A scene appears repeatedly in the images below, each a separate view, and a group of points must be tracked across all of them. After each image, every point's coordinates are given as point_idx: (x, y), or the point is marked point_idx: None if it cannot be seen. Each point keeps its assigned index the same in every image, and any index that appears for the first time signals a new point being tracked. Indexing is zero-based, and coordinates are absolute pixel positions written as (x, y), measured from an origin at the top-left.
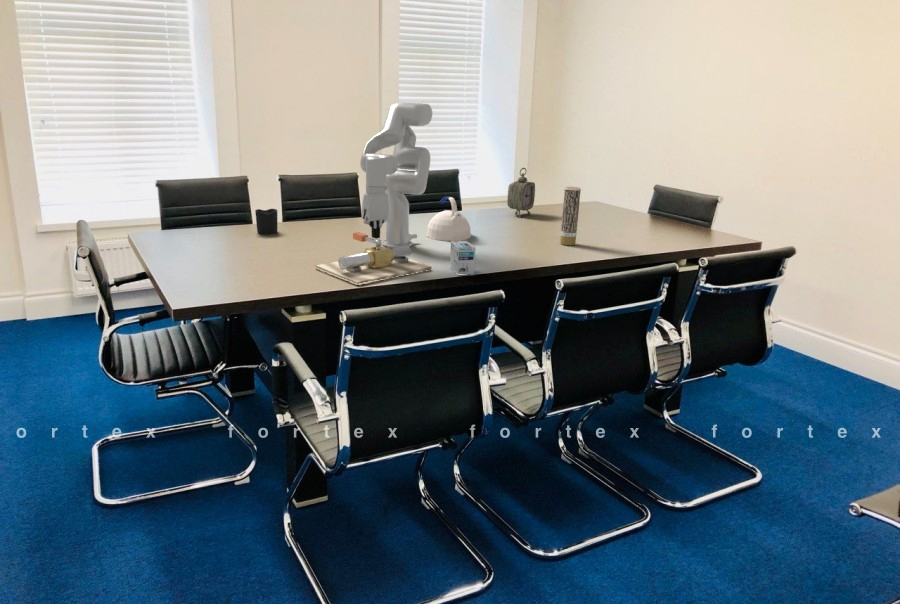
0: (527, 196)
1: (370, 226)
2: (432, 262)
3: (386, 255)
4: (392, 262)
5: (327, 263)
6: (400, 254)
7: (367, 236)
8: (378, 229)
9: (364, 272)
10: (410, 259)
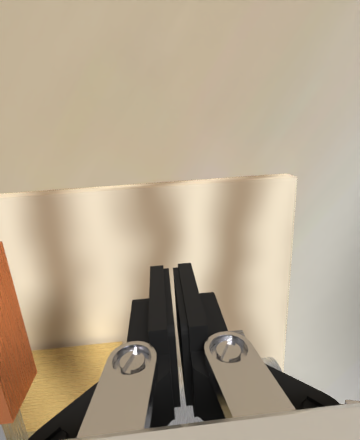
0: None
1: (109, 366)
2: (357, 363)
3: None
4: (177, 354)
5: None
6: None
7: (14, 410)
8: (186, 400)
9: None
10: (282, 349)
